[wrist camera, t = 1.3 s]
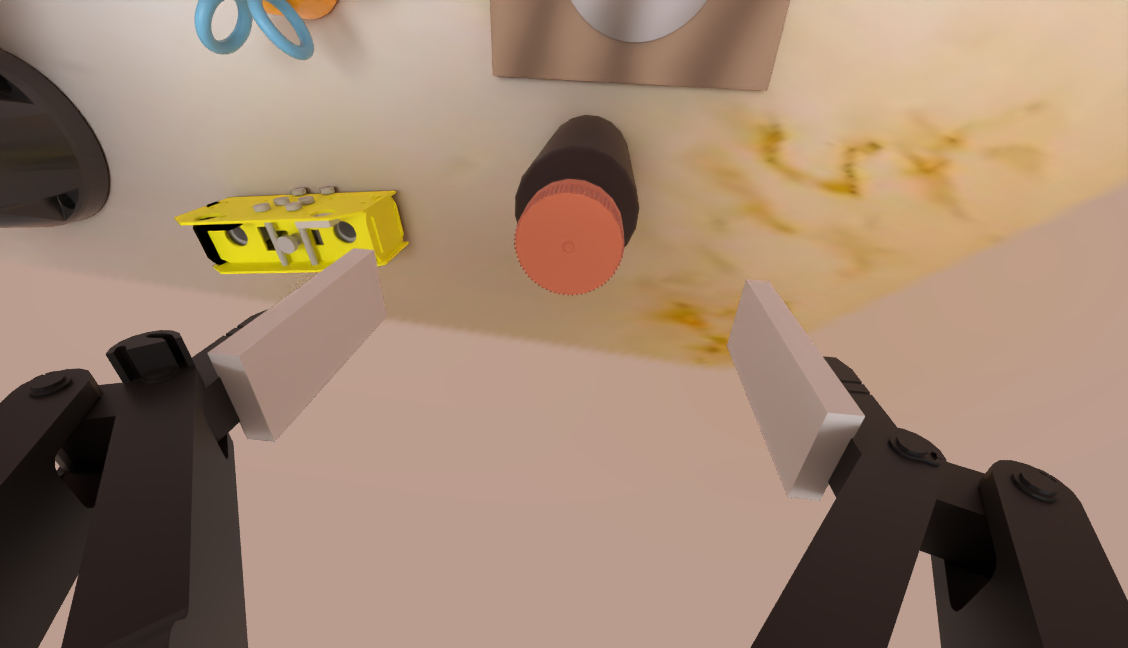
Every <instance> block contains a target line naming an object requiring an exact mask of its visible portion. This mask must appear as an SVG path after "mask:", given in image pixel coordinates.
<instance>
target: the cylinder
mask: <svg viewBox="0 0 1128 648" xmlns="http://www.w3.org/2000/svg"><path fill="white" fill-rule="evenodd" d="M222 1H224V0H199V1H198V4H197V7H196V11H195V28H196V32H197V35H198V37H199V39H200V41H201V42H202V43H203V45H204V46H205V47H206V48H208V49H209V50H210V51H212V52H214V53H217V54H230V53H233V52H235V51H236V50H238V49H239V48H240V47H241V46H242V45H243V44H244V43H245V41H246V40H247V38H248V36H249V34H250V31H251V27H252V20H253V18H254V20H255V21H256V23H257V24H258V26H259V27H260V29H261V30H262V31H263V32H264V34H265V35H266V36H267V37H268V38H269V39H270V40H271V41H272V42H273V43H274V44H275V45H276V46H277V47H278V48H279V49H280V50H282V51H283V52H284V53H286V54H288V55H289V56H291V57H293V58H296V59H299V60H306V59H309V58H310V57H311V56H312V55H313V52H314V45H313V40H312V37H311V35H310V32H309V30H308V28H307V27H306V25H305V23H304V22H303V20H302V19H318V18H321V17H323V16H325V15H326V14H328V13H329V12H330V11H331V10H332V9H333V7H334V5H335V4H336V2H337V0H235V2H236V4H237V7H238V20H237V24H236V27H235V29H234V30H233V32H232V33H231V35H230V36H229V37H227V38H226V39H224V40H220V41H218V40H216V39H215V38H214V37H213V35H212V31H211V21H212V17H213V14H214V11H215V9H216V8H217V6H218V5H219V4H220V3H221V2H222ZM266 13H269V14H273V15H279V16H285V17H286V18H287V19H288V21H289V22H290V23H291V25H292V26H293V28H294V29H295V31H296V33H297V35H298V37H299V40H300V46H297V45H295V44H293V43H292V42H290V41H289V40H288V39H287V38H285V37H284V36H283V35H282V34H281V33H280V32H279V30H278V29H277V28H276V27H275V26H274V24H273V23H272V22H271V20H270V19H269V17H268V16H267V14H266Z"/></svg>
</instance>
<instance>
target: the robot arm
mask: <svg viewBox="0 0 1128 648" xmlns="http://www.w3.org/2000/svg"><path fill="white" fill-rule="evenodd" d="M108 187H109V179H108V172H107V167H106V163H105V160H104V157H103V154H102V151H101V149H100V147H99V145H98V143H97V141H96V139H95V137H94V135H93V133H92V132H91V130H90V128H89V127H88V125H87V124H86V122H85V121H84V119H83V118H82V116H81V115H80V114H79V112H78V111H77V110H76V109H75V107H74V106H73V105H72V104H71V103H70V102H69V100H68V99H67V98H66V97H65V96H64V95H63V94H62V93H61V92H60V91H59V90H58V89H57V88H56V87H55V86H54V85H53V84H52V83H51V82H49V81H48V80H47V79H46V78H45V77H44V76H42V75H41V74H40V73H39V72H37V71H36V70H35V69H33V68H32V67H31V66H29V65H28V64H26V63H25V62H23V61H22V60H20V59H18V58H17V57H15V56H13V55H11V54H9V53H7V52H5V51H3V50H1V49H0V228H10V227H53V226H60V225H65V224H68V223H72V222H75V221H78V220H82V219H85V218H88V217H90V216H92V215H94V214H95V213H97V212H98V211H99V210H100V209H101V208H102V206H103V205H104V203H105V201H106V198H107V194H108ZM386 317H387V314H386V309H385V304H384V298H383V293H382V288H381V283H380V278H379V273H378V267H377V262H376V257H375V252H374V250H369V249H357V248H353V249H352V250H350V251H349V252H348V253H346V254H345V255H343V256H342V257H341V258H339V259H338V260H336V261H335V262H334V263H332V264H331V265H329V266H328V267H327V268H325V269H324V270H322V271H321V272H320V273H318V274H317V275H316V276H314V277H313V278H311V279H310V280H309V281H307V282H306V283H304V284H303V285H302V286H300V287H299V288H297V289H296V290H295V291H293V292H292V293H290V294H289V295H288V296H286V297H285V298H283V299H282V300H281V301H279V302H278V303H276V304H275V305H274V306H272V307H271V308H269V309H267V310H265V311H262V312H260V313H258V314H255V315H253V316H251V317H249V318H248V319H246V320H245V321H244V322H242V323H241V324H239V325H238V326H237V328H234V329H232V330H231V331H230V332H228V333H226V336H222V337H221V338H219V339H218V340H216V341H215V342H214V343H212V344H211V345H209V346H208V347H207V348H205V349H204V350H202V351H201V352H199V353H198V354H196V355H195V356H194V357H192V358H191V356H190V353H189V351H188V350H187V347H186V345H185V344H184V341H183V339H182V337H181V336H180V333H178V332H175V331H170V330H159V331H152V332H147V333H143V334H140V335H136V336H132V337H130V338H128V339H125V340H123V341H121V342H119V343H118V344H116V345H114V346H113V347H111V348H110V349H109V350H108V352H107V353H106V356H107V357H108V359H109V361H110V362H111V364H112V366H113V367H114V369H115V371H116V372H117V374H118V375H119V377H120V379H121V380H122V382H123V383H115V384H105V385H98V384H97V382H96V381H95V379H94V378H93V376H92V375H91V373H90V372H89V371H88V370H84V369H66V370H61V371H53V372H49V373H46V375H40V376H37V377H35V378H34V379H33V380H31V381H29V382H26V383H25V384H23V385H21V386H19V387H18V388H17V389H15V390H14V391H12V392H11V393H10V394H9V395H8V396H7V397H6V398H5V399H4V400H3V401H2V402H1V403H0V648H38V647H39V645H40V643H41V641H42V640H43V638H44V636H45V634H46V632H47V630H48V629H49V627H50V625H51V623H52V621H53V620H54V617H55V616H56V614H57V612H58V610H59V609H60V607H61V605H62V603H63V601H64V600H65V598H66V596H67V594H68V592H69V590H70V589H71V587H72V585H73V583H74V581H75V579H76V577H77V576H78V579H77V583H76V587H75V592H74V596H73V600H72V605H71V609H70V613H69V617H68V621H67V626H66V630H65V634H64V638H63V643H62V647H61V648H248V641H247V626H246V613H245V598H244V586H243V571H242V558H241V545H240V544H241V543H240V529H239V516H238V501H237V489H236V488H237V487H236V474H235V460H234V446H233V441H232V439H231V437H230V435H229V433H228V432H229V431H230V430H231V429H233V427H235V425H237V424H238V423H239V422H240V424H241V427H242V429H243V431H244V433H245V435H246V437H247V439H254V440H263V441H272V442H275V441H276V440H277V438H279V437H280V435H281V434H282V433H283V432H284V431H285V430H286V429H287V428H288V426H289V425H290V424H291V423H292V422H293V421H294V420H295V419H296V418H297V416H298V415H299V414H300V413H301V412H302V411H303V409H305V407H306V406H307V405H308V404H309V403H310V402H311V401H312V400H313V398H314V397H315V396H316V395H317V394H318V393H319V392H320V391H321V389H322V388H323V387H324V386H325V385H326V384H327V383H328V382H329V380H330V379H331V378H332V377H333V376H334V375H335V374H336V373H337V371H338V370H339V369H340V368H341V367H342V366H343V365H344V364H345V363H346V361H347V360H348V359H349V358H350V357H351V356H352V355H353V353H354V352H355V351H356V350H357V349H358V348H359V347H360V346H361V345H362V343H363V342H364V341H365V340H366V339H367V338H368V337H369V336H370V334H371V333H372V332H373V331H374V330H375V329H376V328H377V327H378V326H379V324H380V323H381V322H382V321H383V320H384V319H385V318H386ZM727 348H728V350H729V352H730V355H731V357H732V360H733V362H734V365H735V367H736V370H737V372H738V375H739V377H740V380H741V382H742V385H743V387H744V390H745V392H746V395H747V397H748V400H749V402H750V405H751V407H752V410H753V412H754V415H755V417H756V420H757V422H758V425H759V427H760V430H761V432H762V435H763V437H764V440H765V442H766V445H767V447H768V450H769V452H770V455H771V457H772V460H773V462H774V465H775V467H776V470H777V472H778V475H779V477H780V480H781V482H782V485H783V487H784V490H785V492H786V495H787V497H791V498H801V499H810V500H819V501H820V499H821V497H822V496H823V494H824V492H825V490H826V488H827V486H828V484H829V485H830V487H831V489H832V490H833V492H834V494H835V496H836V500H835V502H834V503H833V505H832V507H831V509H830V510H829V512H828V514H827V515H826V517H825V519H824V521H823V522H822V524H821V526H820V528H819V530H818V531H817V533H816V535H815V536H814V538H813V540H812V542H811V543H810V545H809V547H808V549H807V550H806V552H805V554H804V556H803V557H802V559H801V561H800V563H799V564H798V566H797V568H796V570H795V571H794V573H793V575H792V576H791V578H790V580H789V582H788V584H787V585H786V587H785V589H784V590H783V592H782V594H781V596H780V597H779V599H778V601H777V603H776V604H775V606H774V608H773V609H772V611H771V613H770V615H769V617H768V618H767V620H766V622H765V623H764V625H763V627H762V629H761V630H760V632H759V634H758V636H757V637H756V639H755V641H754V643H753V644H752V646H751V648H887V647H888V644H889V640H890V638H891V635H892V632H893V628H894V625H895V623H896V619H897V616H898V613H899V610H900V607H901V604H902V601H903V598H904V595H905V592H906V589H907V586H908V583H909V580H910V577H911V574H912V571H913V568H914V565H915V562H916V559H917V556H918V553H919V550H920V551H923V552H925V553H928V554H931V560H932V569H933V577H934V587H935V595H936V605H937V614H938V622H939V631H940V640H941V648H1128V600H1127V598H1126V596H1125V594H1124V592H1123V590H1122V588H1121V585H1120V583H1119V581H1118V579H1117V577H1116V575H1115V573H1114V571H1113V569H1112V567H1111V565H1110V562H1109V560H1108V558H1107V556H1106V554H1105V552H1104V550H1103V548H1102V546H1101V544H1100V541H1099V539H1098V537H1097V535H1096V533H1095V531H1094V529H1093V527H1092V525H1091V523H1090V521H1089V518H1088V517H1087V514H1086V512H1085V510H1084V508H1083V506H1082V504H1081V502H1080V501H1079V499H1078V498H1077V497H1076V495H1075V494H1074V493H1073V492H1072V491H1071V490H1070V489H1069V488H1068V487H1066V486H1065V485H1064V484H1063V483H1062V482H1060V481H1059V480H1058V479H1056V478H1055V477H1053V476H1052V475H1049V474H1048V473H1046V472H1044V471H1042V470H1040V469H1037V468H1034V467H1032V466H1030V465H1027V464H1024V463H1020V462H1016V461H1012V460H999V461H998V462H996V463H994V464H993V465H992V466H991V467H990V468H989V470H988V471H987V472H986V473H985V474H984V473H981V472H978V471H975V470H971V469H968V468H965V467H961V466H958V465H955V464H952V463H948V462H946V458H945V457H944V455H943V454H942V453H941V451H940V450H939V449H938V448H937V447H935V446H934V445H933V444H932V443H931V442H929V441H928V440H926V439H925V438H923V437H921V436H919V435H917V434H916V433H913V432H910V431H907V430H905V429H901V428H897V427H896V425H895V424H894V423H893V421H892V420H891V419H890V418H889V416H888V415H887V414H886V412H885V411H884V410H883V409H882V407H881V406H880V405H879V404H878V402H877V401H876V400H875V398H874V397H873V396H872V395H870V392H869V391H868V389H867V388H866V387H865V385H863V384H862V382H861V380H860V379H859V378H858V377H857V375H856V374H855V373H854V371H853V370H852V369H851V368H849V367H848V366H847V365H845V364H844V363H842V362H841V361H840V360H838V359H837V358H834V357H823V356H822V355H821V353H820V352H819V351H818V349H817V348H816V346H815V345H814V344H813V342H812V341H811V339H810V338H809V337H808V335H807V334H806V332H805V331H804V330H803V328H802V327H801V325H800V324H799V323H798V321H797V320H796V318H795V317H794V316H793V314H792V313H791V311H790V310H789V308H788V307H787V306H786V304H785V303H784V301H783V300H782V299H781V297H780V296H779V294H778V293H777V292H776V290H775V289H774V287H773V286H772V285H771V283H770V282H769V281H761V280H748V279H746V281H745V285H744V288H743V292H742V295H741V299H740V302H739V306H738V309H737V313H736V316H735V320H734V323H733V327H732V330H731V334H730V337H729V341H728V344H727ZM55 461H56V462H57V463H58V464H59V466H60V467H59V468H58V470H57V471H56V469H55ZM78 574H79V575H78Z"/></svg>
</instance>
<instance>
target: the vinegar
mask: <svg viewBox="0 0 1128 648" xmlns="http://www.w3.org/2000/svg"><path fill="white" fill-rule="evenodd" d="M638 213H639V203H638V196H637V190H636V185H635V180H634V175H633V171H632V166H631V161H630V157H629V152H628V147H627V143H626V141H625V140H624V138H623V136H622V134H621V132H620V131H619V130H618V129H617V128H616V127H615V126H614V125H613V124H612V123H611V122H609V121H607V120H605V119H603V118H601V117H599V116H589V115H584V116H580V117H576V118H572V119H570V120H569V121H567V122H566V123H564V124H563V125H561V126H560V127H559V129H558V130H557V131H556V133H555V134H554V135H553V136H552V138H551V139H550V140H549V142H548V143H547V144H546V146H545V147H544V148H543V150H542V151H541V152H540V154H539V155H538V156H537V158H536V159H535V160H534V162H533V163H532V164H531V166H530V167H529V168H528V170H527V171H526V172H525V174H524V175H523V176H522V179H521V182H520V185H519V187H518V190H517V193H516V197H515V217H516V220H517V226H516V227H517V228H516V230H515V231H516V233H515V236H516V237H515V239H514V240H515V243H514V245H516V247H515V249H516V254H518V256H517V258H519V261H518V262H520V264H521V265H520V266H522V267H523V270H525V271H526V272H525V274H526V273H527V274H528V277H530V278H531V280H534V281H535V283H538V286H539V285H540V286H542V288H546V290H547V289H548V290H550V292H551V291H553V292H554V293H559V294H560V293H562V294H563V295H564V294H567V295H569V294H571V295H572V296H573V294H576V295H578V294H579V293H581V295H582V293H584V292H585V293H586V292H590V291H591V290H595V288H599V286H602V284H603V283H606V280H609V277H612V275H613V274H615V270H617V266H620V265H619V262H621V258H623V255H622V254H623V253H624V250H623V249H624V247H625V246H626V245H627V244H628V242H629V240H630V238H631V236H632V234H633V233H634V231H635V229H636V225H637V219H638Z"/></svg>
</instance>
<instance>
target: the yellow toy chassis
mask: <svg viewBox="0 0 1128 648" xmlns="http://www.w3.org/2000/svg"><path fill="white" fill-rule="evenodd" d="M319 190H320V192H321V194H306V193H307V192H306V189H305V188H296V189H292V190H291V193H292V195H273V196H248V197H229V198H226V199H223V200H221V201H218V202H214V203H211V204H208V205H207V206H204V207H201V208H199V209H196V210H193V211H190V212H188V213H185V214H182V215H179V216H177V217H174V218H175V220H176V221H177V222H178V223H179V224H180V225H193V230H194V232H195V233H196V235H197V237H198V239H199V241H200V243H201V245H202V247H203V249H204V251H205V253H206V255H207V257H208V258H209V259H210V260H211V261H213V262H214V263H216V264H215V265H213V268H214V269H215V270H217V271H218V272H219V273H221V274H249V273H300V272H321V271H322V270H324V269H325V268H327V267H328V266H329V265H331V264H332V263H334V262H335V261H336V260H338V259H339V258H341V257H342V256H343V255H345V254H346V253H348V252H349V251H350V250H352V249H353V248H357V249H369V250H374V252H375V257H376V262H377V267H378V266H382V265H386V264H387V263H388V262H390V261H391V260H392V259H393V258H394V257H395V256H396V255H397V254H398V253H399V252H400V251H401V250H403V249H404V248H405V247H406V246H407V245H408V244H409V242H408V241H405V242H403V235H404V232H403V228H402V224H401V220H400V216H399V212H398V208H397V204H396V202H394V200H393V198H392V197H391V196H392V195H394V194H395V193H396V191H374V192H348V193H334V192H335V190H334V187H323V188H320V189H319Z"/></svg>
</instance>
